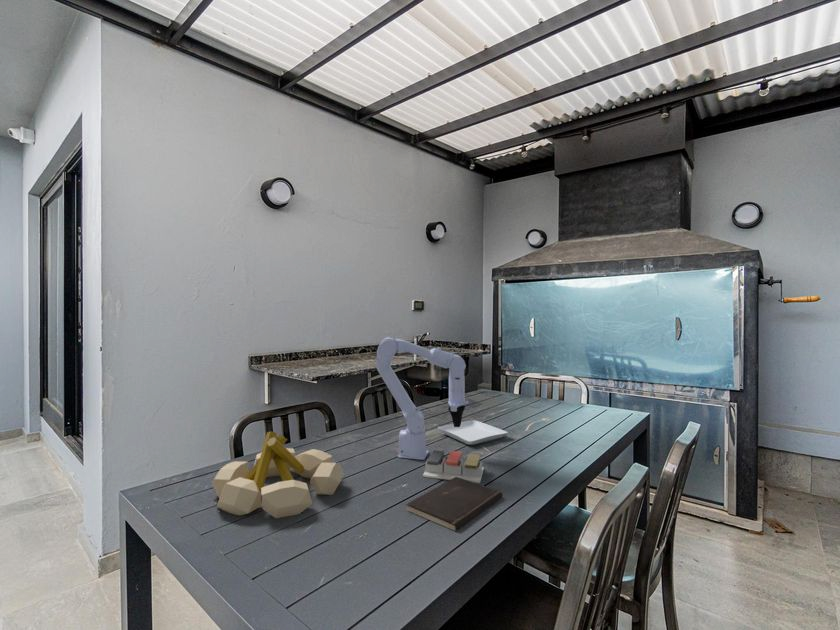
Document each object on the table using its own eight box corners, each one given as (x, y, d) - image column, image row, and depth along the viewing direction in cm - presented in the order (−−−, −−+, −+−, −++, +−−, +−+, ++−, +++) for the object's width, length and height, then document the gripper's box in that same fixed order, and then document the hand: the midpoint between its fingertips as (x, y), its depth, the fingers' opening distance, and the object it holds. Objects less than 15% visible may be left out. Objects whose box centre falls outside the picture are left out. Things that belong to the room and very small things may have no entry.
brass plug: (464, 477, 129) (464, 464, 129) (468, 465, 139) (469, 453, 138) (476, 478, 128) (476, 465, 128) (479, 466, 138) (479, 454, 138)
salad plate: (509, 439, 170) (509, 431, 170) (469, 449, 158) (469, 440, 157) (474, 426, 187) (474, 419, 187) (436, 435, 175) (436, 426, 175)
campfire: (282, 461, 145) (281, 412, 144) (362, 480, 129) (362, 426, 129) (185, 504, 114) (184, 442, 113) (275, 536, 98) (275, 464, 98)
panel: (422, 476, 132) (422, 466, 132) (430, 463, 142) (430, 454, 142) (480, 483, 127) (480, 472, 127) (483, 469, 138) (483, 459, 138)
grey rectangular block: (426, 473, 132) (426, 461, 132) (433, 462, 142) (433, 450, 141) (437, 474, 131) (438, 462, 131) (444, 463, 141) (444, 451, 141)
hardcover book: (405, 512, 110) (405, 503, 110) (455, 483, 128) (455, 476, 128) (455, 534, 100) (455, 524, 100) (502, 500, 118) (502, 491, 118)
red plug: (445, 474, 130) (445, 461, 130) (451, 462, 140) (451, 450, 140) (456, 475, 129) (456, 462, 129) (461, 463, 139) (461, 451, 139)
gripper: (464, 393, 142) (465, 433, 142) (470, 385, 156) (470, 421, 157) (444, 392, 144) (444, 431, 144) (451, 384, 158) (452, 420, 158)
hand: (457, 426), depth 151 cm, fingers closed
